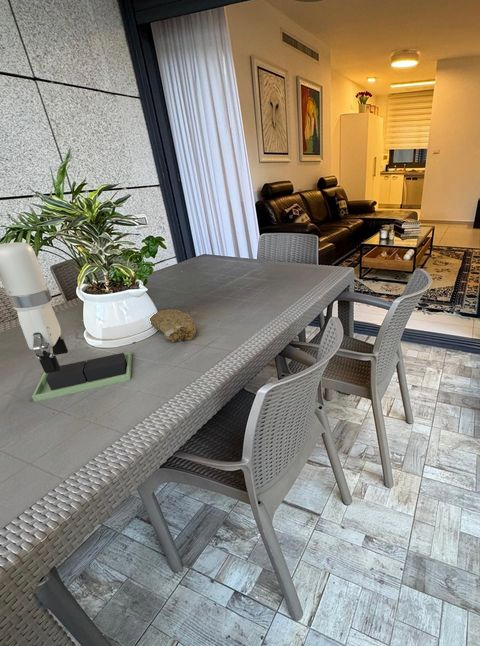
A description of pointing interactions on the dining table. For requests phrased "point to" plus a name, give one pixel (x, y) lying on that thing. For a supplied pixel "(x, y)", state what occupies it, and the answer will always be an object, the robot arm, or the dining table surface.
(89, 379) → the pad
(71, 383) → the pad
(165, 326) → the sponge
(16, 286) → the robot arm
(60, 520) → the dining table surface
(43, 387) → the tray
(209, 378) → the dining table surface
